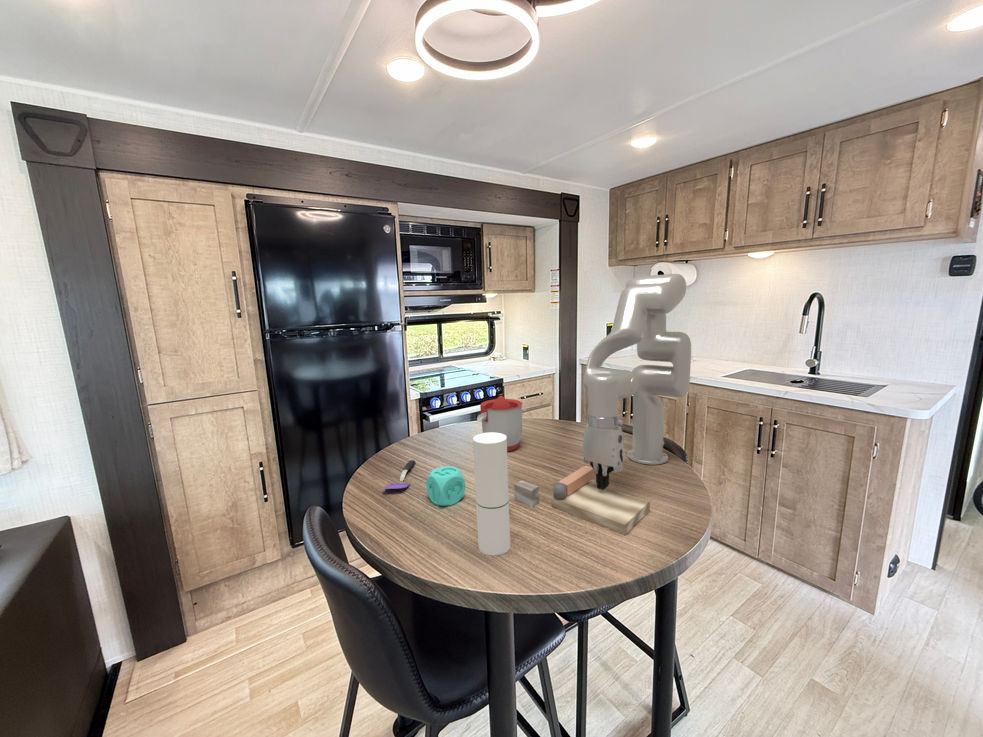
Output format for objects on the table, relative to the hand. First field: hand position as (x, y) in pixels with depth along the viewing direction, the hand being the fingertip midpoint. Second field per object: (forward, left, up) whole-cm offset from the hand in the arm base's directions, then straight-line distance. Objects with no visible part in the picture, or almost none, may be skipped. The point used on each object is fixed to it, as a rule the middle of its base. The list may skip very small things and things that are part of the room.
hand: (602, 487), depth 104 cm
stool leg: (+3, -7, -1) cm, 8 cm away
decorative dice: (+26, -33, -4) cm, 43 cm away
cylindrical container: (+33, -8, -4) cm, 35 cm away
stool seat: (+6, -3, -4) cm, 8 cm away
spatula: (+26, -55, -4) cm, 61 cm away
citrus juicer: (-13, -48, -4) cm, 50 cm away
